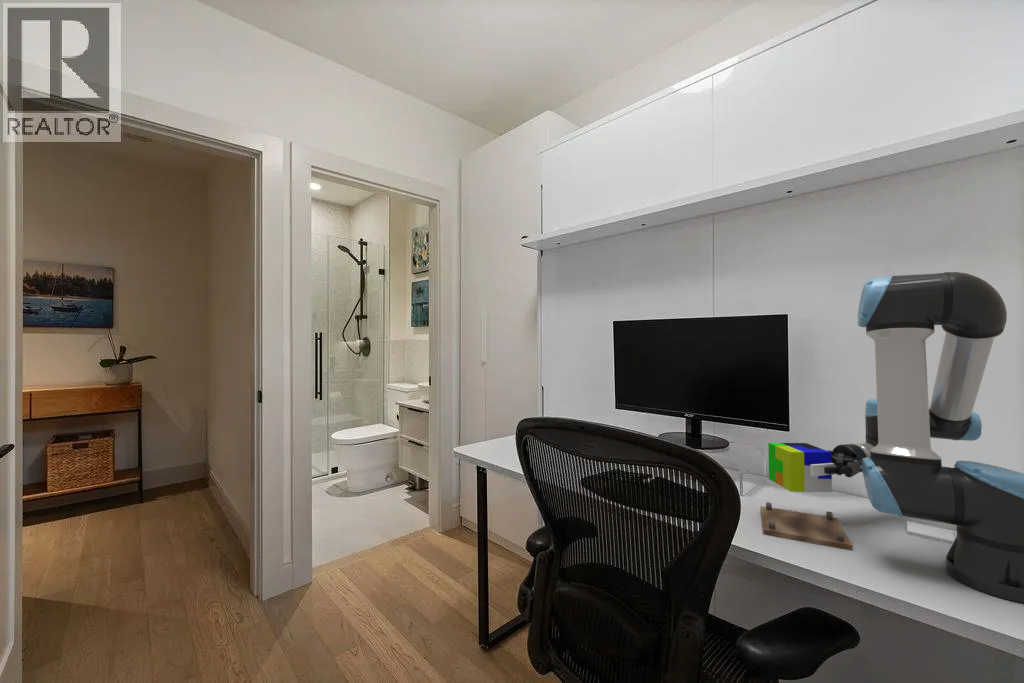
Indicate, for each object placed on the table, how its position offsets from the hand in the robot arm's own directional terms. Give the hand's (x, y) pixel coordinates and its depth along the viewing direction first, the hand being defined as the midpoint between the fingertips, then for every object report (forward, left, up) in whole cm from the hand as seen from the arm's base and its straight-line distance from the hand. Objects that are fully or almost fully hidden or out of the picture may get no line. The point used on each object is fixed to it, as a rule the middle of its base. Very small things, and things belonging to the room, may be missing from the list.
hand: (789, 463), depth 110 cm
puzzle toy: (0, -3, -6) cm, 7 cm away
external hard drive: (-12, -34, -18) cm, 40 cm away
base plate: (0, -3, -17) cm, 18 cm away
